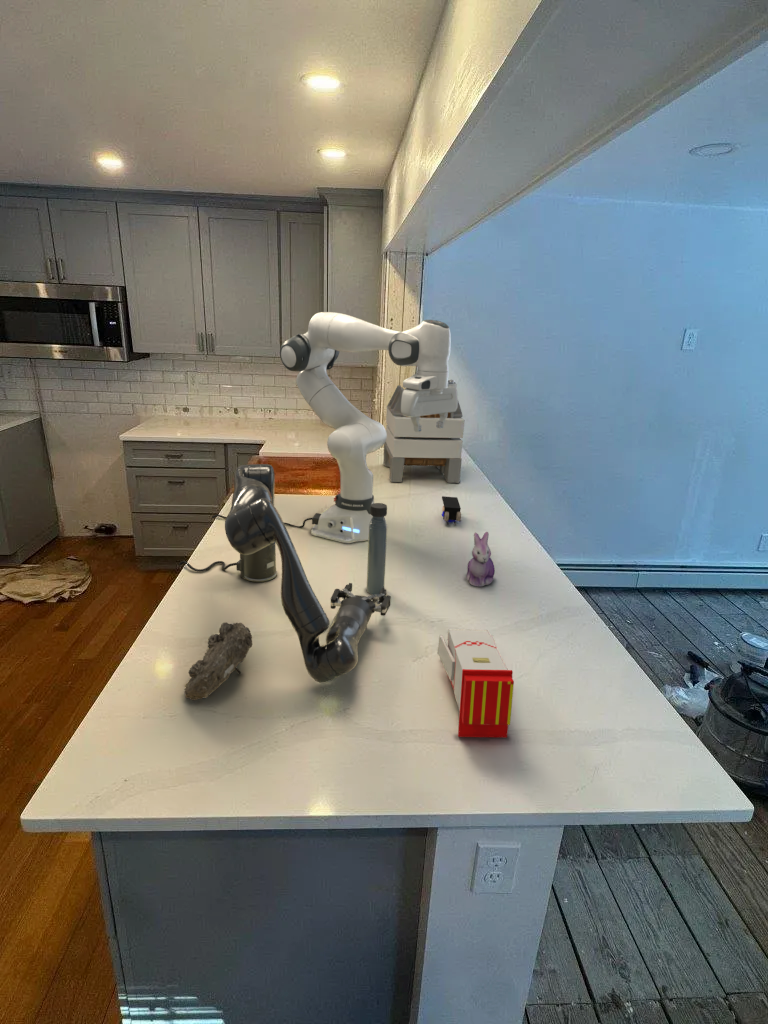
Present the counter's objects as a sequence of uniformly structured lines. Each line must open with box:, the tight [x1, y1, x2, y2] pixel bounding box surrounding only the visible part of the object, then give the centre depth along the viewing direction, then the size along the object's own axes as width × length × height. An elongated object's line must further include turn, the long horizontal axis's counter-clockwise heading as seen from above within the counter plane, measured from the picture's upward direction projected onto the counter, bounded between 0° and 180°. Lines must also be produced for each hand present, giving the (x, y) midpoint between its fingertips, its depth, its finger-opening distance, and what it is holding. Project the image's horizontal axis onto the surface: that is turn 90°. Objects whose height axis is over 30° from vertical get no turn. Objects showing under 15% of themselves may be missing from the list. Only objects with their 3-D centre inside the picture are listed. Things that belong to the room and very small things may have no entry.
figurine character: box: [441, 495, 462, 526], centre depth 214 cm, size 7×8×15 cm
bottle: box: [366, 516, 388, 595], centre depth 155 cm, size 5×5×25 cm
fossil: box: [183, 622, 253, 701], centre depth 120 cm, size 22×10×15 cm
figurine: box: [466, 531, 496, 587], centre depth 165 cm, size 9×10×15 cm
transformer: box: [383, 384, 465, 484], centre depth 268 cm, size 34×33×41 cm
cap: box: [370, 502, 388, 517], centre depth 151 cm, size 4×4×2 cm
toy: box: [437, 628, 515, 738], centre depth 117 cm, size 12×13×30 cm
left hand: (366, 588), depth 146 cm, fingers open, 8 cm apart
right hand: (428, 429), depth 164 cm, fingers open, 8 cm apart
